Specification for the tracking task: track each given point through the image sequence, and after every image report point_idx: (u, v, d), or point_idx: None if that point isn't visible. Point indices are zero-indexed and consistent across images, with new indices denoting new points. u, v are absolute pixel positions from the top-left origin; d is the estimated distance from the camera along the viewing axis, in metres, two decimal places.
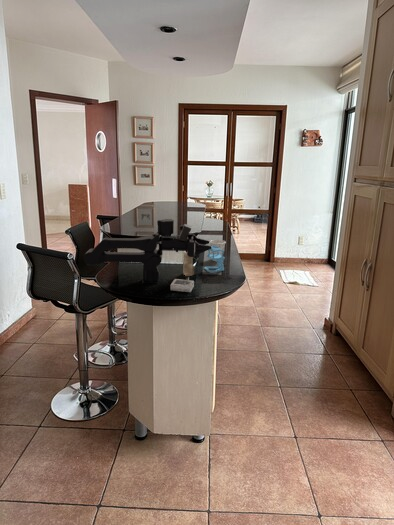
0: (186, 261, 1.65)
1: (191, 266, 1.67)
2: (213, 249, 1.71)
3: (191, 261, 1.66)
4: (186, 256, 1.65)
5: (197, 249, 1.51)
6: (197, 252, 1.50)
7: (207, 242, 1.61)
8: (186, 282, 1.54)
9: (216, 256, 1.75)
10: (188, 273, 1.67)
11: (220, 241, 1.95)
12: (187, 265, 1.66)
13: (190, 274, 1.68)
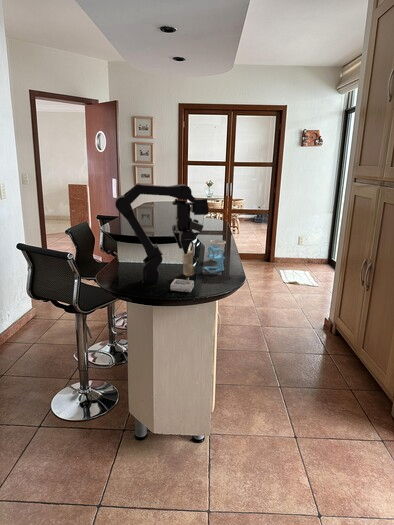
0: (186, 261, 1.65)
1: (191, 266, 1.67)
2: (213, 249, 1.71)
3: (191, 261, 1.66)
4: (186, 256, 1.65)
5: (185, 241, 1.51)
6: (182, 241, 1.50)
7: (180, 247, 1.62)
8: (186, 282, 1.54)
9: (216, 256, 1.75)
10: (188, 273, 1.67)
11: (220, 241, 1.95)
12: (187, 265, 1.66)
13: (190, 274, 1.68)
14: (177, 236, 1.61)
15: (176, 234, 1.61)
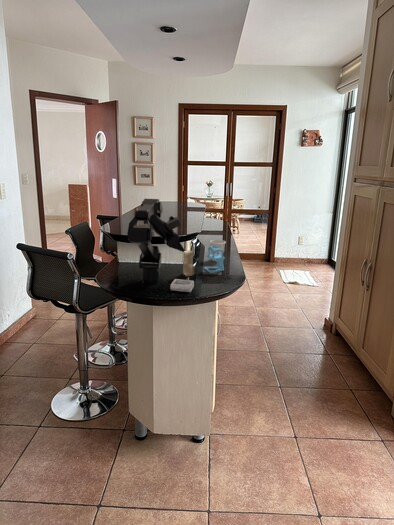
0: (186, 261, 1.65)
1: (191, 266, 1.67)
2: (213, 249, 1.71)
3: (191, 261, 1.66)
4: (186, 256, 1.65)
5: (174, 244, 1.57)
6: (173, 246, 1.57)
7: None
8: (186, 282, 1.54)
9: (216, 256, 1.75)
10: (188, 273, 1.67)
11: (220, 241, 1.95)
12: (187, 265, 1.66)
13: (190, 274, 1.68)
14: None
15: None
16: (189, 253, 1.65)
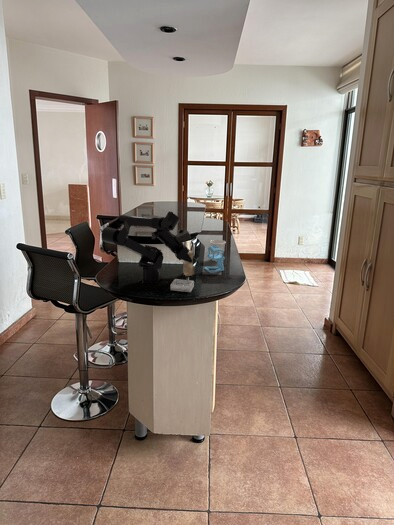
0: (186, 261, 1.65)
1: (191, 266, 1.67)
2: (213, 249, 1.71)
3: None
4: None
5: None
6: (181, 257, 1.62)
7: None
8: (186, 282, 1.54)
9: (216, 256, 1.75)
10: (188, 273, 1.67)
11: (220, 241, 1.95)
12: (187, 265, 1.66)
13: (190, 274, 1.68)
14: None
15: None
16: (189, 253, 1.65)
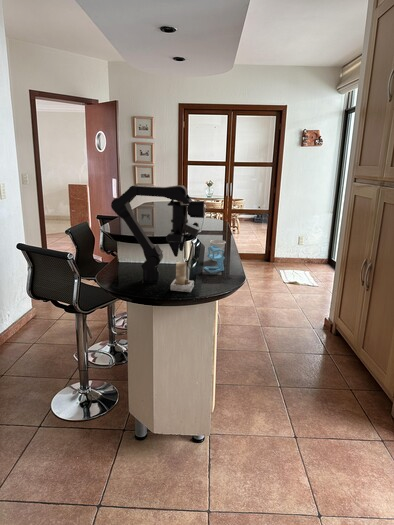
0: (177, 273, 1.49)
1: (183, 279, 1.49)
2: (213, 249, 1.71)
3: (183, 274, 1.48)
4: (177, 267, 1.48)
5: (173, 243, 1.47)
6: (170, 243, 1.47)
7: (181, 249, 1.58)
8: None
9: (216, 256, 1.75)
10: None
11: (220, 241, 1.95)
12: (178, 278, 1.49)
13: None
14: None
15: None
16: (180, 264, 1.48)
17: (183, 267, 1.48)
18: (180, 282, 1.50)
